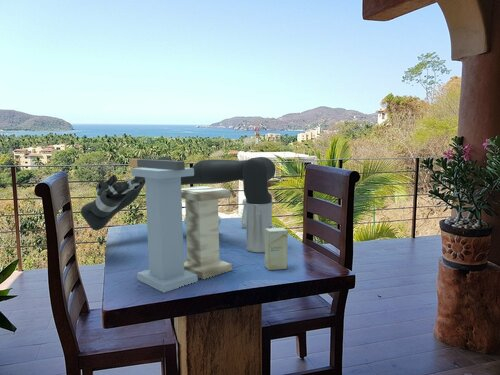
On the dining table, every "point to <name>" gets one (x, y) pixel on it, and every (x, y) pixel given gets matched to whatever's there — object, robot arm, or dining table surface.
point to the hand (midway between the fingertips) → (128, 176)
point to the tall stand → (164, 229)
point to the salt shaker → (244, 215)
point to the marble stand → (203, 230)
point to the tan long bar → (157, 164)
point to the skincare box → (276, 248)
